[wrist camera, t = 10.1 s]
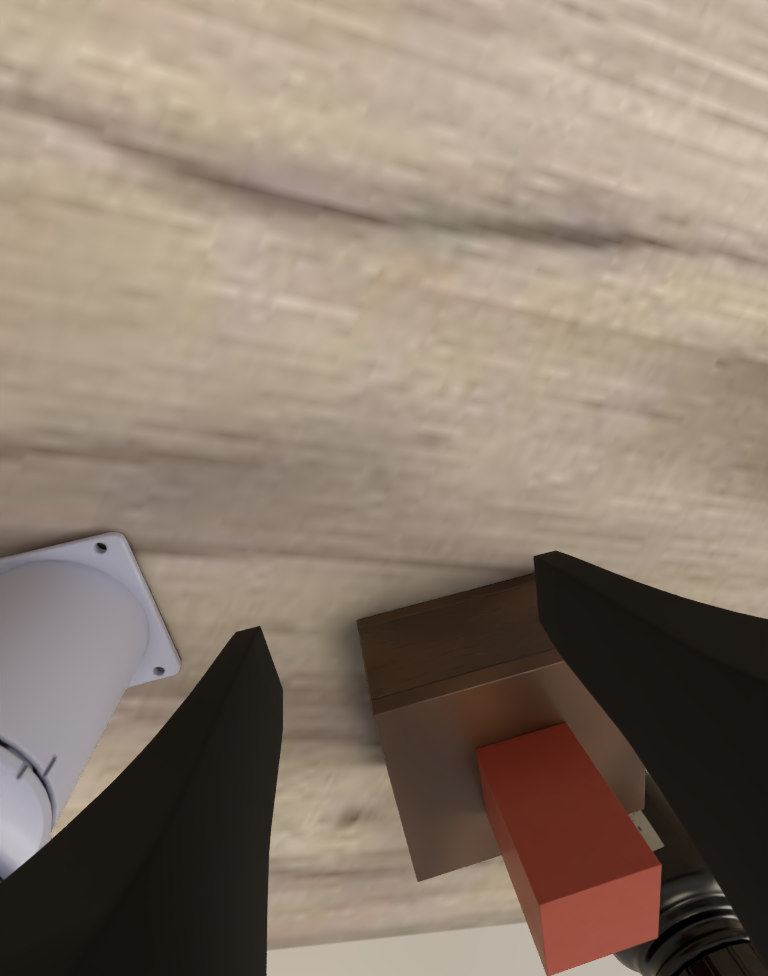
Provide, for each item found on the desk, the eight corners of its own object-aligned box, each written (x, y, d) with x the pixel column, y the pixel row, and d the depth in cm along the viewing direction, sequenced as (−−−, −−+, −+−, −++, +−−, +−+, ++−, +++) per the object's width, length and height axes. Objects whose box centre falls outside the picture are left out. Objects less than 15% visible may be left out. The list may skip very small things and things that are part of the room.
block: (485, 812, 20) (547, 977, 15) (475, 748, 19) (539, 906, 14) (570, 786, 21) (658, 938, 15) (566, 721, 19) (662, 864, 14)
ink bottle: (579, 760, 30) (743, 1016, 18) (685, 762, 32) (892, 995, 20) (535, 859, 32) (654, 1134, 21) (635, 855, 34) (793, 1106, 23)
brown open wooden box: (394, 764, 27) (417, 882, 21) (356, 619, 23) (372, 715, 17) (574, 710, 28) (645, 809, 22) (567, 564, 24) (649, 636, 18)
